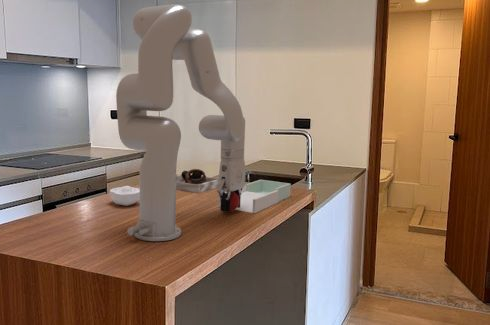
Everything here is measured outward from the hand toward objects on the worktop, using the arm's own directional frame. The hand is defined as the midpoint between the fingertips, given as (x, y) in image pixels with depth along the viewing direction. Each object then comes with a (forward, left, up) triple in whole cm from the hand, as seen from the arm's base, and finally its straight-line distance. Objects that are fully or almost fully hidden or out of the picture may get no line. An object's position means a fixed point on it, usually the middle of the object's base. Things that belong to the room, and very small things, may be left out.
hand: (230, 208), depth 150 cm
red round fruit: (0, 0, -1) cm, 1 cm away
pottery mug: (+27, +34, -2) cm, 43 cm away
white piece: (+13, 0, -2) cm, 13 cm away
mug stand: (+26, +34, -1) cm, 43 cm away
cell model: (-12, +34, -1) cm, 36 cm away
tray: (+28, 0, -1) cm, 28 cm away
